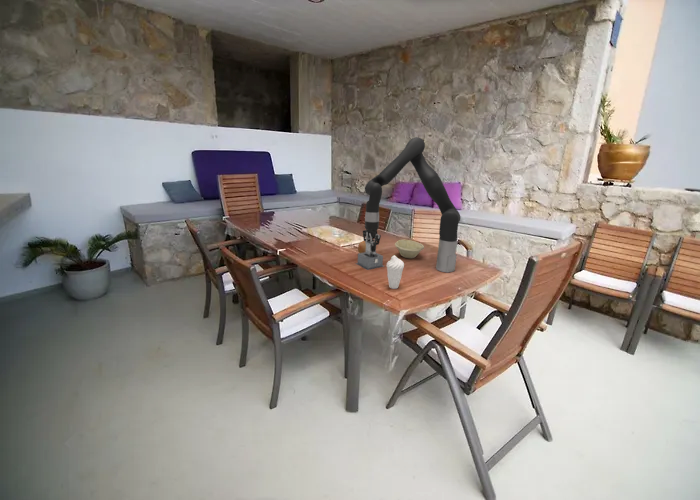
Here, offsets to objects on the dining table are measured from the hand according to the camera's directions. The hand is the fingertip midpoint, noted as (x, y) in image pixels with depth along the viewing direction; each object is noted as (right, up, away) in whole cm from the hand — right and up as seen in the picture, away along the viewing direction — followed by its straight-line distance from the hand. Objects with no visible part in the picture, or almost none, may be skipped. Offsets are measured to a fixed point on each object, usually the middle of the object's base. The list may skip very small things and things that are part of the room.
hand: (370, 250), depth 176 cm
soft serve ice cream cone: (+9, -18, -24) cm, 31 cm away
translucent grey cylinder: (0, -7, +2) cm, 7 cm away
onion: (-2, -4, +21) cm, 22 cm away
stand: (0, -9, +3) cm, 10 cm away
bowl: (+25, -4, +22) cm, 34 cm away
